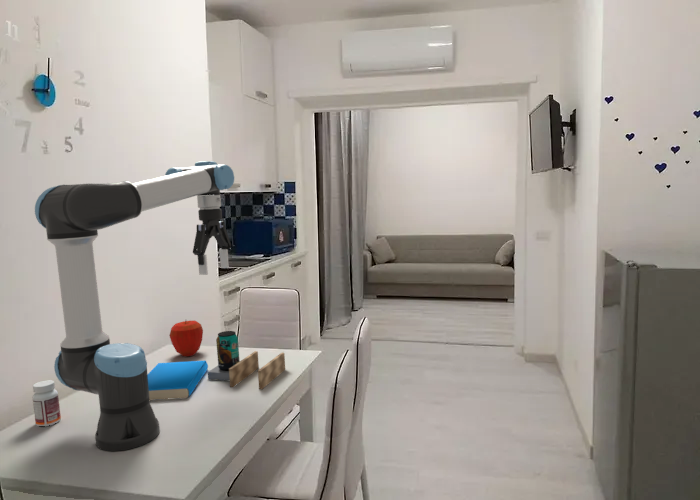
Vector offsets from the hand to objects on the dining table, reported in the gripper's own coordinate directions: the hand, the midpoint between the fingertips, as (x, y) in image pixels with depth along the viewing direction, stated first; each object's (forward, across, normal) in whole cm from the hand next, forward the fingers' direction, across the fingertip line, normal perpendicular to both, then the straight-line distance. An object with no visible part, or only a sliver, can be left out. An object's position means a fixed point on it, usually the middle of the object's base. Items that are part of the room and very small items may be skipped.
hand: (214, 271), depth 180 cm
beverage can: (+32, -4, -5) cm, 33 cm away
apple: (+35, +13, +22) cm, 43 cm away
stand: (+35, -4, -5) cm, 35 cm away
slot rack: (+35, -5, -16) cm, 39 cm away
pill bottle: (+35, -47, +27) cm, 64 cm away
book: (+35, -15, +9) cm, 40 cm away
